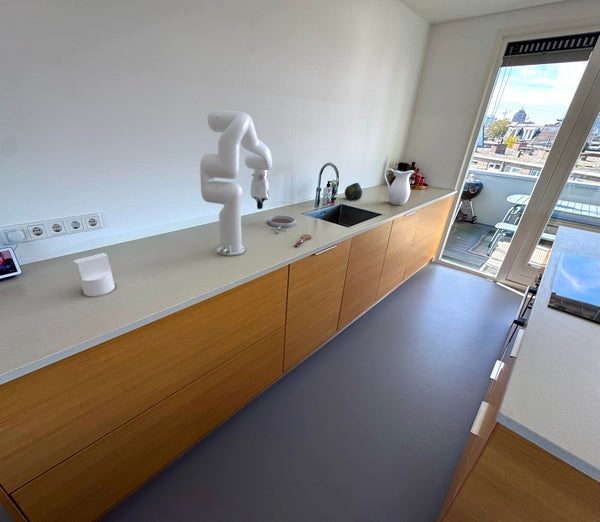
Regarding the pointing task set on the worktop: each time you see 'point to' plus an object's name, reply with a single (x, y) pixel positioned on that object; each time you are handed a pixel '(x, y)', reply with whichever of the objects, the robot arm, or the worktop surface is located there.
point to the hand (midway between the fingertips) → (259, 208)
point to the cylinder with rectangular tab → (95, 274)
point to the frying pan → (281, 222)
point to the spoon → (303, 239)
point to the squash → (353, 192)
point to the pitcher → (399, 187)
